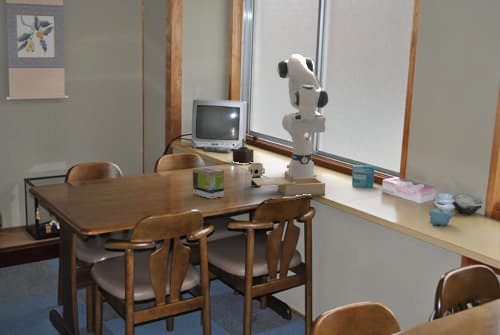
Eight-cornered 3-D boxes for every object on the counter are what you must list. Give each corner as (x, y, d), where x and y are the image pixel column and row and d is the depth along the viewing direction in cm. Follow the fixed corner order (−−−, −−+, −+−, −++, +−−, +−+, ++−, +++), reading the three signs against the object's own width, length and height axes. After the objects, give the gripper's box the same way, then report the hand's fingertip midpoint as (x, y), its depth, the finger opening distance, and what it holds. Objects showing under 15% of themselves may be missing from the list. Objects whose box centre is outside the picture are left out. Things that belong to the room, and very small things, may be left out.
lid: (251, 179, 355) (251, 172, 354) (288, 177, 359) (288, 171, 358) (257, 185, 340) (257, 178, 339) (295, 184, 344) (295, 177, 344)
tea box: (224, 197, 343) (224, 170, 340) (209, 200, 337) (209, 172, 334) (207, 192, 354) (207, 165, 351) (192, 194, 348) (192, 168, 345)
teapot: (456, 225, 295) (457, 209, 294) (453, 228, 290) (454, 212, 288) (430, 221, 301) (431, 205, 300) (426, 224, 296) (427, 208, 294)
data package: (351, 186, 369) (352, 166, 366) (352, 185, 373) (353, 164, 371) (373, 187, 366) (374, 167, 364) (373, 186, 371) (374, 165, 368)
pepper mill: (245, 165, 426) (245, 138, 423) (232, 163, 433) (232, 137, 429) (259, 162, 439) (259, 135, 435) (246, 160, 445) (246, 134, 441)
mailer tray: (278, 190, 359) (278, 178, 358) (316, 188, 364) (316, 177, 362) (285, 196, 344) (285, 185, 343) (324, 195, 349) (325, 183, 348)
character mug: (244, 186, 368) (245, 164, 365) (251, 184, 374) (251, 162, 371) (261, 188, 362) (261, 166, 360) (267, 186, 368) (268, 164, 366)
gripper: (323, 114, 353) (322, 139, 356) (287, 114, 349) (286, 140, 352) (327, 115, 346) (326, 141, 350) (290, 116, 343) (289, 142, 346)
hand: (306, 140), depth 351 cm, fingers closed
